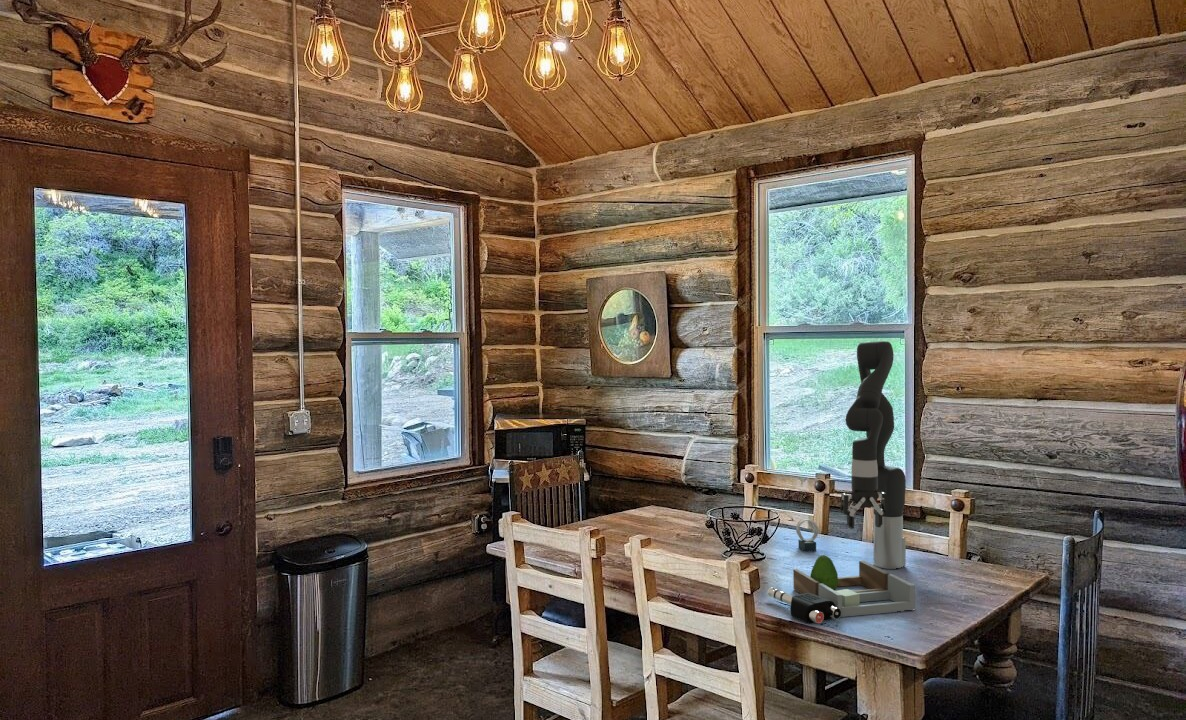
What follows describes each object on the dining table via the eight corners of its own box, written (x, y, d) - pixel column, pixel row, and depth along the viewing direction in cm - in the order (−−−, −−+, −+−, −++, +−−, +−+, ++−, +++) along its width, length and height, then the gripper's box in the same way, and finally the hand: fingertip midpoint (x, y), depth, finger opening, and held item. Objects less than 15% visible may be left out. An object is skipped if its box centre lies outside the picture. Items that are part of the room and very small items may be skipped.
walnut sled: (863, 583, 251) (863, 560, 251) (889, 597, 238) (889, 573, 238) (793, 589, 246) (793, 566, 246) (815, 603, 233) (815, 579, 233)
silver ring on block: (821, 550, 291) (821, 520, 291) (800, 552, 290) (800, 521, 289) (814, 547, 296) (814, 517, 296) (793, 548, 295) (793, 518, 295)
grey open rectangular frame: (892, 597, 237) (892, 574, 237) (915, 610, 226) (915, 585, 226) (818, 604, 232) (818, 580, 232) (838, 617, 221) (837, 591, 221)
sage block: (847, 606, 231) (847, 588, 231) (859, 611, 226) (859, 593, 226) (833, 608, 229) (833, 591, 229) (845, 614, 224) (845, 596, 224)
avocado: (821, 600, 236) (821, 559, 236) (805, 593, 243) (804, 553, 243) (844, 597, 239) (843, 556, 239) (826, 589, 246) (826, 550, 246)
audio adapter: (813, 608, 213) (752, 584, 236) (813, 628, 214) (752, 602, 236) (843, 602, 219) (781, 578, 241) (844, 621, 219) (781, 596, 241)
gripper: (880, 471, 250) (880, 523, 250) (836, 472, 248) (836, 525, 248) (892, 475, 242) (893, 529, 243) (847, 476, 240) (847, 531, 241)
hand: (864, 527), depth 245 cm, fingers open, 8 cm apart
